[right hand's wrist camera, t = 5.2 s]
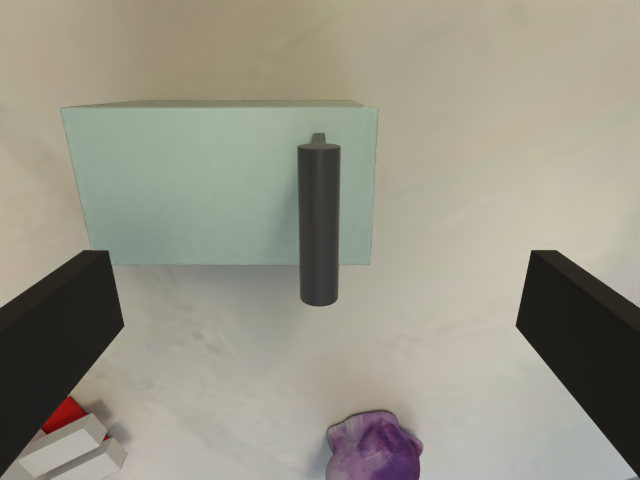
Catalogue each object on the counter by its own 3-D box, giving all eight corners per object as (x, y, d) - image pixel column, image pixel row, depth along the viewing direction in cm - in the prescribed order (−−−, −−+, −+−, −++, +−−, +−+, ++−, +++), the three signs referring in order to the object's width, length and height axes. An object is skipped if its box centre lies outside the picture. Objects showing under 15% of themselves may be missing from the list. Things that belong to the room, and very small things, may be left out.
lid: (376, 106, 23) (404, 116, 16) (368, 260, 27) (388, 329, 19) (67, 106, 23) (-57, 116, 16) (101, 260, 27) (13, 329, 19)
